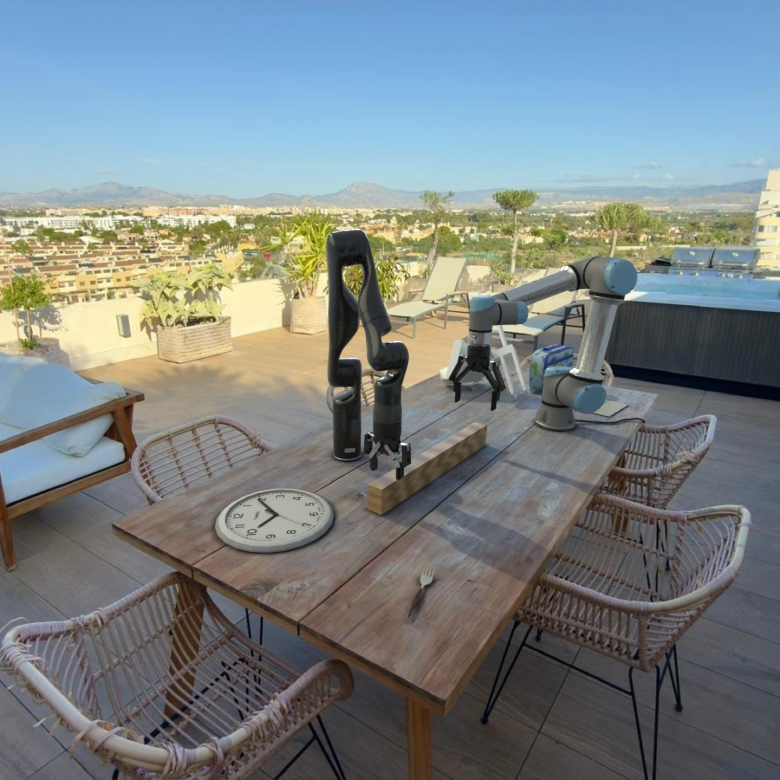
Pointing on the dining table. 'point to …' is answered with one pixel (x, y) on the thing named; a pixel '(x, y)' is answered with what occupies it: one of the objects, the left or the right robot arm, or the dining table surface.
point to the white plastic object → (495, 355)
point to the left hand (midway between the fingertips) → (386, 474)
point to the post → (425, 468)
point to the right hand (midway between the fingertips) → (475, 405)
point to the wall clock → (274, 520)
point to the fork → (424, 581)
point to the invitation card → (610, 408)
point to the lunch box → (548, 363)
